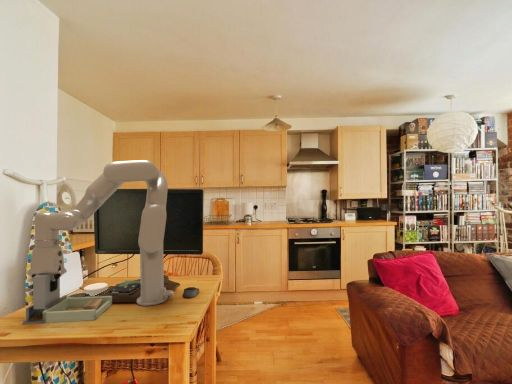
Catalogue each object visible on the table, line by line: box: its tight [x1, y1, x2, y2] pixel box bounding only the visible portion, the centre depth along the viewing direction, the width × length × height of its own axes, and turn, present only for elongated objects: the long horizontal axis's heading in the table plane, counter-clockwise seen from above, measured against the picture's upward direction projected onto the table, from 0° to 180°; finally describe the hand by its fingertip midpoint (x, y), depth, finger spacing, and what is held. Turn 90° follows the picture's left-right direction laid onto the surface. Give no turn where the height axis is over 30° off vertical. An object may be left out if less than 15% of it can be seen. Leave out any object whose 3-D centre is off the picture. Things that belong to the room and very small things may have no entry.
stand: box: [21, 295, 68, 325], centre depth 108 cm, size 7×16×5 cm, turn 5°
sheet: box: [32, 271, 61, 309], centre depth 108 cm, size 4×9×12 cm, turn 5°
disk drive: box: [108, 280, 140, 294], centre depth 135 cm, size 10×3×15 cm
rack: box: [42, 295, 113, 324], centre depth 109 cm, size 18×15×4 cm
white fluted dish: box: [83, 282, 109, 297], centre depth 132 cm, size 10×10×4 cm
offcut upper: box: [83, 299, 103, 310], centre depth 109 cm, size 4×7×2 cm, turn 10°
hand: (47, 290), depth 108 cm, fingers closed on sheet, 4 cm apart
